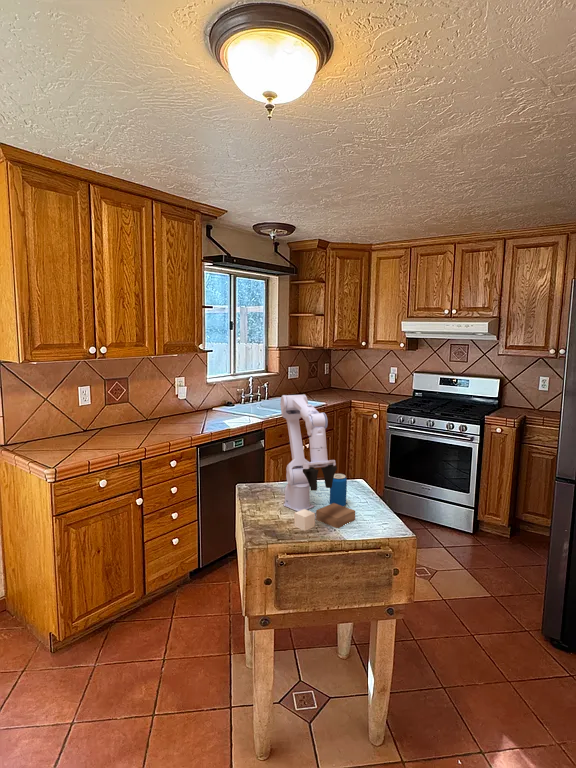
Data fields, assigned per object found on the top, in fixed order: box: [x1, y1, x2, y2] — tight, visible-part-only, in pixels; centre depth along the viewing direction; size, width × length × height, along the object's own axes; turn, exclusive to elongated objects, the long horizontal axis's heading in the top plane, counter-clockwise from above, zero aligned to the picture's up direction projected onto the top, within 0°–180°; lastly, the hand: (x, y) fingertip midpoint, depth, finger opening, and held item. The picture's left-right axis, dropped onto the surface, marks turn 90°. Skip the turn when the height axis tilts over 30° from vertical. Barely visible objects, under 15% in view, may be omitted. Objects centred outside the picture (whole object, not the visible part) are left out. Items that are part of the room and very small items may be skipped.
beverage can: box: [329, 473, 348, 507], centre depth 176 cm, size 6×6×12 cm
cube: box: [294, 509, 316, 532], centre depth 158 cm, size 5×5×5 cm
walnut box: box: [315, 503, 356, 529], centre depth 163 cm, size 10×10×4 cm
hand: (321, 489), depth 152 cm, fingers open, 7 cm apart
